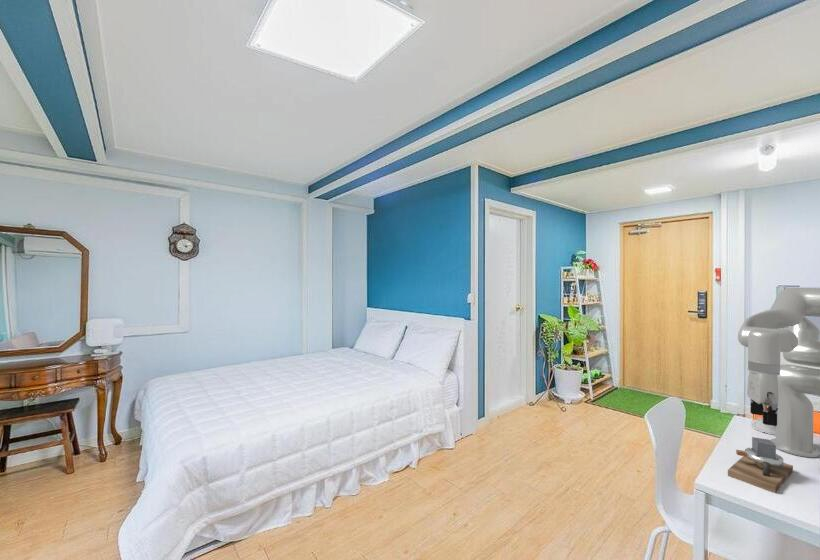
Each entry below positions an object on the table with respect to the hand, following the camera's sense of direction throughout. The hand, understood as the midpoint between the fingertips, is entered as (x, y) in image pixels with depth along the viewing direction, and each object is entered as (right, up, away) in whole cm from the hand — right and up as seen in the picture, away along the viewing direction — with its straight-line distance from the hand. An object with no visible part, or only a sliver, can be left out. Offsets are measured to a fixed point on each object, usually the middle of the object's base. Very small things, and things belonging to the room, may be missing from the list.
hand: (763, 419), depth 115 cm
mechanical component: (+35, -18, +32) cm, 50 cm away
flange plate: (0, -13, +1) cm, 13 cm away
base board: (0, -18, 0) cm, 18 cm away
